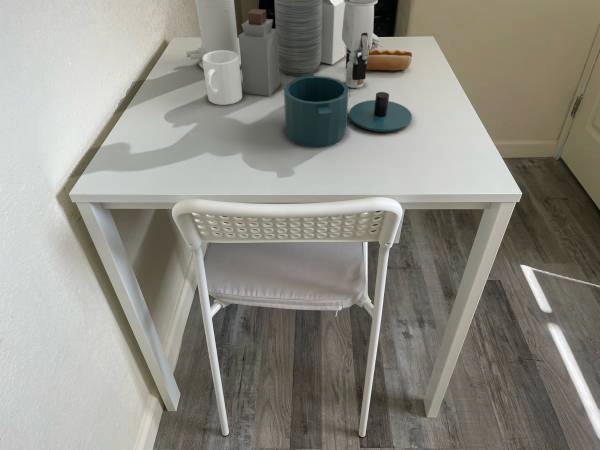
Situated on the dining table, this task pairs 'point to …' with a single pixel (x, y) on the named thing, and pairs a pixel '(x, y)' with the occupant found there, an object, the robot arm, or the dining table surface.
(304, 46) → the vase
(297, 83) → the pot
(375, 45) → the figurine
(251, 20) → the perfume bottle
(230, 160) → the dining table surface
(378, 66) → the food
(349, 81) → the pill bottle
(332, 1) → the milk carton
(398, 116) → the lid
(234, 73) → the mug
